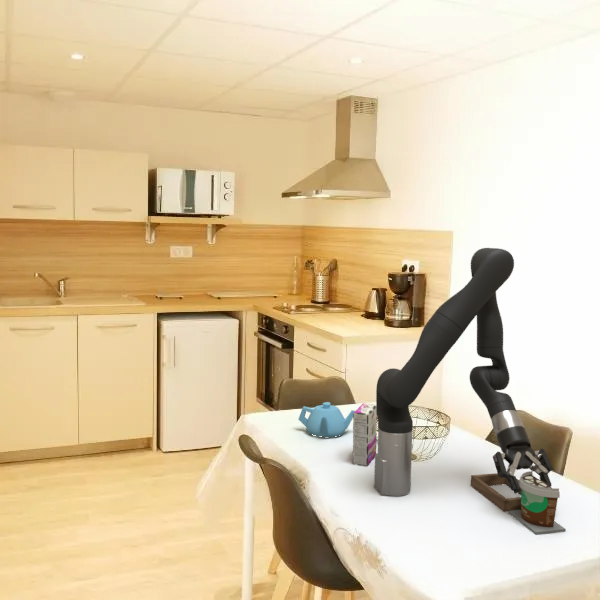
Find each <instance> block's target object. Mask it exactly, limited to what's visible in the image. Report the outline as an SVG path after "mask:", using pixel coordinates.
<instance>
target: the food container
mask: <svg viewBox="0 0 600 600" xmlns="http://www.w3.org/2000/svg"><path fill="white" fill-rule="evenodd" d="M518 480H519V483H518V484H519V486H520V488H521V495H520V497H521V517H522V518H523V519H524V520H525V521H527V522H528V523H531V524H534V525H537V526H542V527H553V526H554V521H555V520H556V519H555V517H556V512H557V505H558V498H559V499H560V488H556V487H555V488H554V487H553V488H552V486H551V487H550V486H549V485H548V484H547V483H546V482H544V481H542V480H540V478H537V477H536V476H534V475H533V471H531V470H530V471H526V472H523V473H522V474H521V476H520V477H519V479H518Z"/></svg>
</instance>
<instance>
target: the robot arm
mask: <svg viewBox="0 0 600 600" xmlns="http://www.w3.org/2000/svg"><path fill="white" fill-rule="evenodd" d="M514 268H515V260H514V257H513V255H512V253H511V252H510V251H508V250H507V249H503V248H497V247H496V248H494V247H482V248H480V249H478V250H476V251H475V252H474V253H473V255H472V257H471V259H470V272H471V274H470V275H471V279H470V280H469V281H468V283H466V284H465V286H463V288H461V290H459V291H458V292H456V293H455V294H453V295H452V296H451V297H450V298H448V299H447V300H446V301H444V302H443V303H442V304H441V305H440V306H439V307H438V308H437V309H436V311H434V313H433V314H432V316H430V318H429V319H428V321H427V322H426V324H425V325H424V326H423V329H422V331H421V333H420V336H419V339H418V342H417V345H416V348H415V349H414V352H413V354H412V355H411V357H410V358H409V359H408V360H407V362H406V363H405V364H404V366H403V367H402V368H401V369H399V368H395V367H394V368H388V369H386V370H384V371H383V372H382V373H381V374H380V375H379V377H378V379H377V382H376V392H375V394H376V395H375V396H376V397H375V398H376V399H375V401H376V402H375V403H376V404H375V405H376V412H377V421H378V424H377V426H378V427H377V428H378V429H377V430H378V431H377V432H378V433H377V437H378V438H377V452H376V454H375V457H374V472H373V473H374V476H373V478H374V480H373V487H374V488H375V489H376V490H377V492H378V493H379V494H380V495H381V496H385V495H386V496H392V497H400V496H401V497H402V496H406V495H408V494H410V493H411V487H412V460H413V459H412V455H413V454H412V452H413V451H412V450H413V427H414V425H413V418H412V415H411V414H410V409H409V407H410V405H412V404H413V403H414V402H415V401H416V399H417V398H418V397H419V395H420V394H421V392H422V389H423V388H424V387H425V385H426V383H427V382H428V380H429V378H430V377H431V375H432V374H433V372H434V371H435V370H436V369H437V367H438V365H440V363H441V362H442V361H443V359H444V358H445V357H446V355H447V354H448V353H449V352H450V350H451V349H452V347H454V345H455V344H456V343H457V342H458V340H459V339H460V337H461V336H462V335H463V334H464V333H465V331H466V330H467V328H468V327H469V325H470V324H471V322H472V321H474V319H475V318H476V354H477V356H479V357H481V358H483V359H484V358H485V359H489V360H490V361H491V364H492V365H490V364H489V365H479V366H475V367H473V368H472V369H471V371H470V373H469V382H470V385H471V388H472V390H473V391H474V393H475V394H476V395H477V396H478V398H479V400H480V401H481V402H482V403H483V405H484V406H485V407H486V409H487V412H488V414H489V418H490V421H491V424H492V428H493V431H494V434H495V436H496V439H497V443H498V445H499V448H500V450H501V451H496V453H495V454H494V455H493V456H492V459H493V462H494V463H493V464H494V467H495V469H496V473H498V476H499V477H500V478H502V477H504V478H506V479H507V480H508V483H509V485H510V487H509V489H510V490H511V492H513V493H514V494H518V492H519V491H520V487H519V484H518V482H517V479H518V478H517V476H516V475H515V472H516V471H517V470H522V469H523V470H528V469H529V470H530V471H532V472H534V473H535V474H537V475H538V477H539V478H538V479H539V480H542V481H544V482H546V483H547V484H548V485H549V486H550V487H551V488H552V485H553V484H552V482H551V479H550V477H549V473H550V472H552V471H553V469H554V467H553V465H552V463H551V461H550V459H549V456H548V455H547V453H546V450H545V449H544V448H543V447H542V448H540V449H539V450H534V449H533V448H532V446H531V441H530V438H529V436H528V433H527V431H526V428H525V426H524V423H523V421H522V419H521V417H520V415H519V414H518V411H517V409H516V407H515V404H514V401H513V398H512V397H511V395H509V393H506V392H500V391H502V390H505V389H506V388H507V387H508V385H509V383H510V372H509V369H508V366H507V362H506V357H505V352H504V324H503V319H502V316H501V312H500V309H499V306H498V300H497V291H498V290H499V289H500V288H501V287H502V286H503V285H504V284H505V283H506V282H507V281H508V279H509V278H510V277H511V275H512V273H513V271H514ZM501 452H502V453H501ZM504 460H505V461H506V462H507V463H508V465H507V468H506V465H505V463H504ZM533 464H534V465H533ZM516 478H517V479H516Z"/></svg>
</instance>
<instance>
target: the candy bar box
mask: <svg viewBox="0 0 600 600" xmlns="http://www.w3.org/2000/svg"><path fill="white" fill-rule="evenodd" d="M354 411H355V412H354V413H353V419H352V421H353V422H352V423H353V426H352V432H353V433H352V435H353V436H352V437H353V439H352V444H353V445H352V447H353V448H352V450H353V451H352V465H355V464H359V465H358V466H362V465H364V466H363V467H368V466H369V465H370V464H369V463H372V461H373V460H374V459H375V454H376V453H377V428H378V427H377V426H378V424H377V421H378V418H377V412H376V404H373V403H372V404H371V403H365V402H364V403H361V405H360V406H359V407H358V408H357V409H355V410H354Z"/></svg>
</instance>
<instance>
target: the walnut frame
mask: <svg viewBox="0 0 600 600" xmlns="http://www.w3.org/2000/svg"><path fill="white" fill-rule="evenodd" d="M516 479H517V482H518V483H519V479H518V478H517V477H516ZM502 484H506V487H508V486H509V487H508V488H510V485H509V483H508V480H507V479H506V478H504V477H502V478H500V477H499V476H498V473H497V472H496V473H486V474H485V473H484V474H475V475H474V474H472V475H470V487H471V488H473V489H474V490H475V491H476V492H477V493H479V494H480V495H482V496H483V497H484V498H485V499H487V500H488V501H490V503H492V504H493V505H494V506H495V507H497V508H498V509H500V511H502V512H503V513H506V512H507V513H508V511H512V510H521V488H520V491H519V492H518V493H517V494H519V496H518V497H509V498H507V497H505V496H504V495H502V494H501V493H499V491H497V490H496V489H494V487H493V485H494V486H503V485H502ZM491 486H492V487H491ZM519 487H520V486H519Z"/></svg>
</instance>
